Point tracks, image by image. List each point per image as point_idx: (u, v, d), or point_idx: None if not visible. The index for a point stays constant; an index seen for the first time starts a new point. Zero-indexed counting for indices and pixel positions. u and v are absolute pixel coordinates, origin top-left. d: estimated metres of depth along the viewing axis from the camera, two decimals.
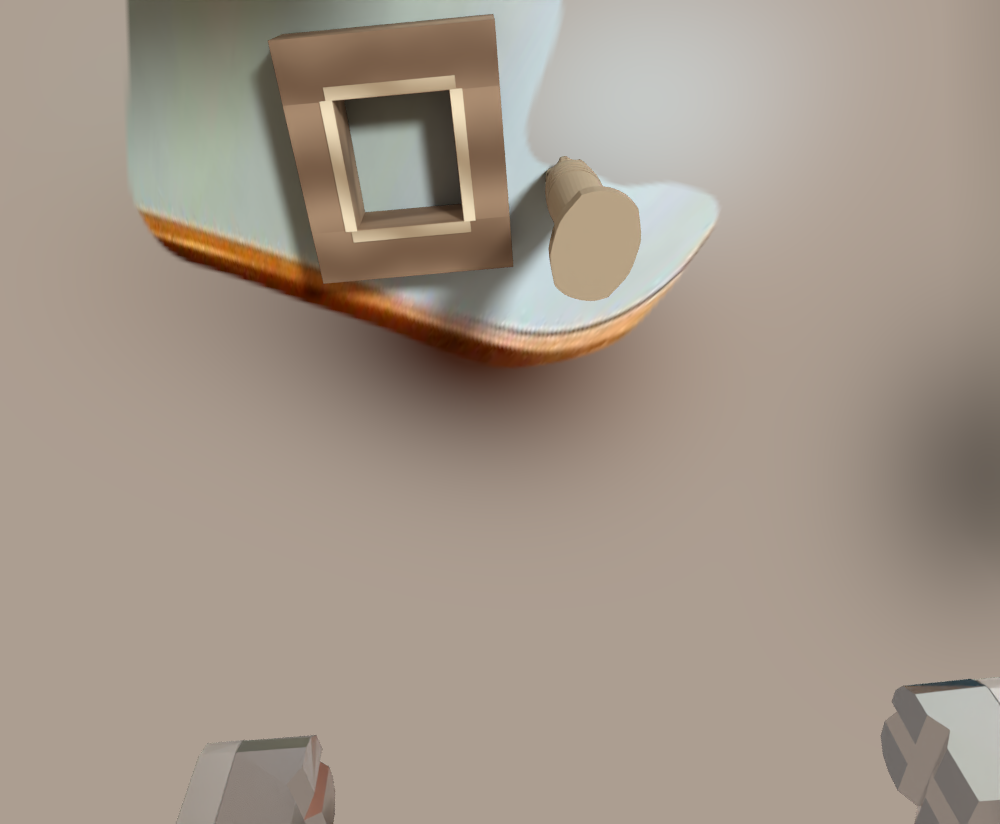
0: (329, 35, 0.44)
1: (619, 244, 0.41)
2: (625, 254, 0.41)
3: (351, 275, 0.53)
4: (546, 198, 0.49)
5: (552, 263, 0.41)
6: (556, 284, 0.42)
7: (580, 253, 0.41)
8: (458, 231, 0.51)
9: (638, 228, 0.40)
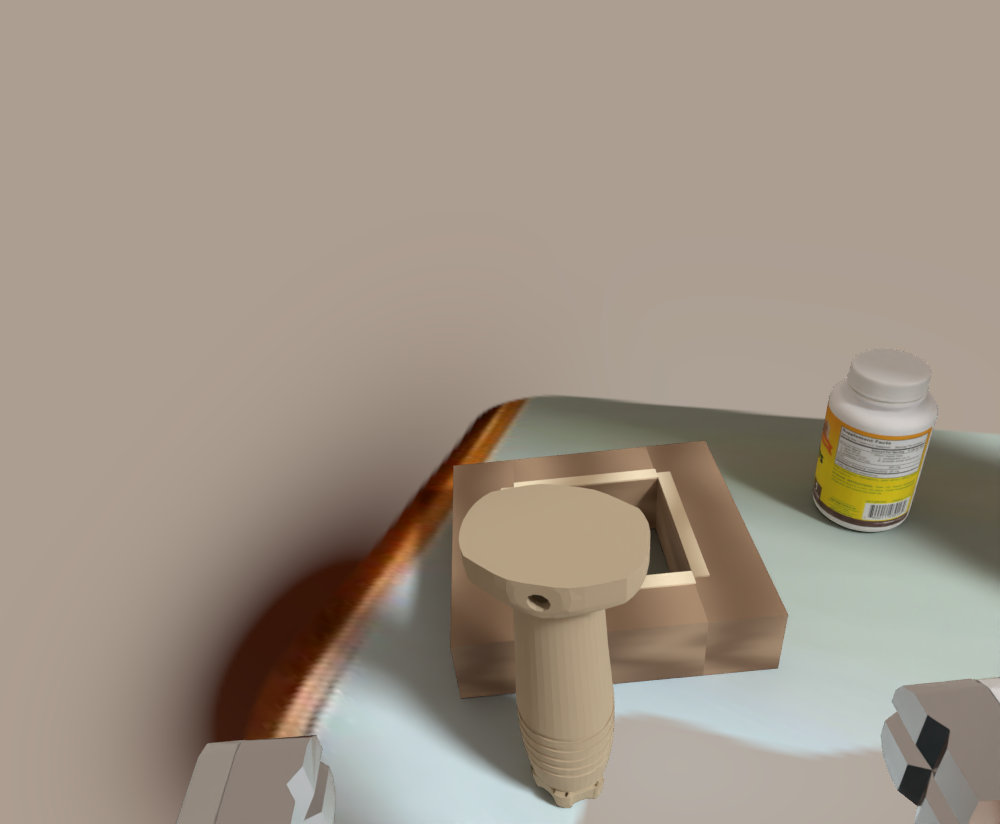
0: None
1: (560, 560, 0.23)
2: (541, 570, 0.23)
3: (460, 486, 0.44)
4: None
5: (527, 487, 0.26)
6: (492, 493, 0.26)
7: (543, 515, 0.25)
8: None
9: (591, 582, 0.22)
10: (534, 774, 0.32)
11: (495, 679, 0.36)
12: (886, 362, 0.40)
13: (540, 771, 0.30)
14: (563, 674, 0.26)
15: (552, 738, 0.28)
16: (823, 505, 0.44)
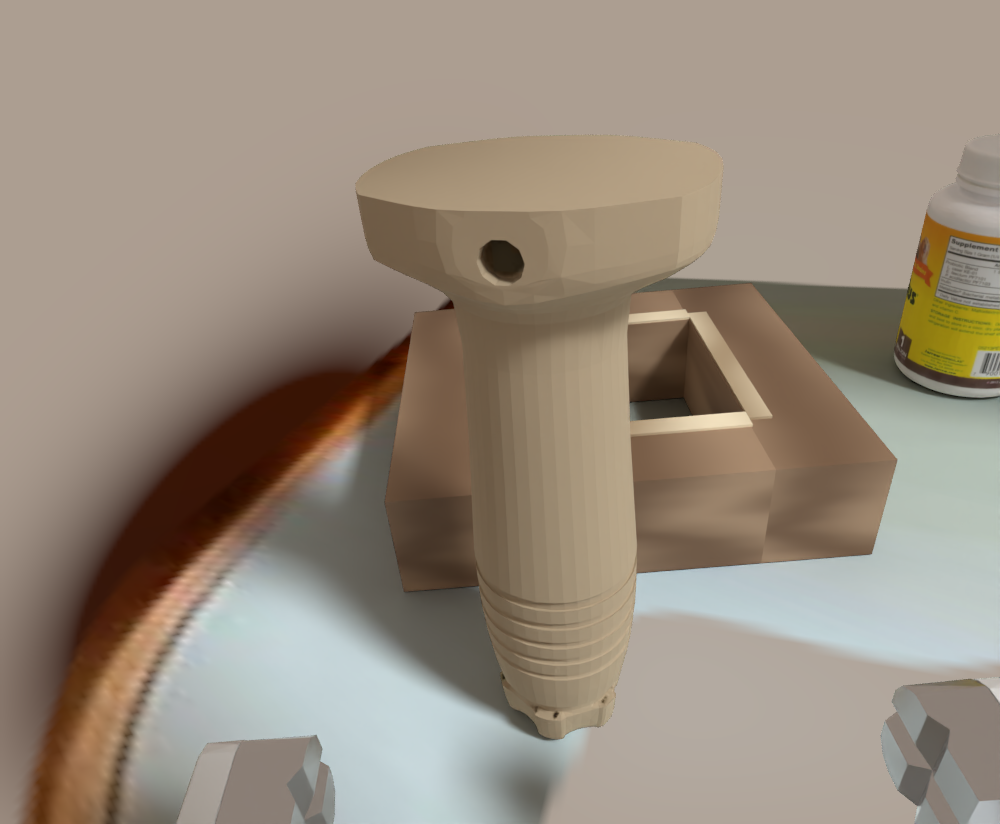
0: None
1: (546, 187, 0.12)
2: (508, 198, 0.11)
3: (421, 331, 0.33)
4: None
5: (493, 139, 0.15)
6: (429, 148, 0.15)
7: (517, 158, 0.14)
8: None
9: (607, 204, 0.11)
10: (505, 686, 0.20)
11: (454, 561, 0.24)
12: None
13: (513, 673, 0.18)
14: (551, 466, 0.14)
15: (531, 602, 0.16)
16: (913, 365, 0.32)
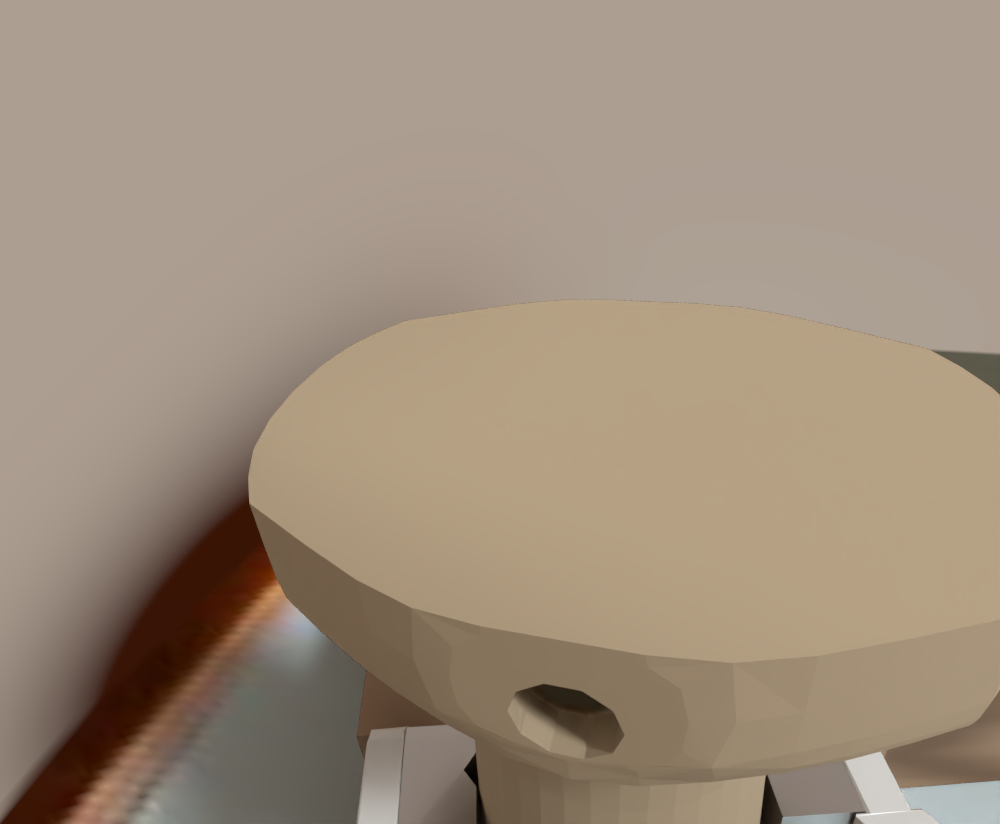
0: None
1: (665, 522, 0.05)
2: (583, 568, 0.05)
3: None
4: None
5: (522, 307, 0.08)
6: (409, 324, 0.08)
7: (576, 373, 0.07)
8: None
9: (846, 633, 0.04)
10: None
11: None
12: None
13: None
14: None
15: None
16: None
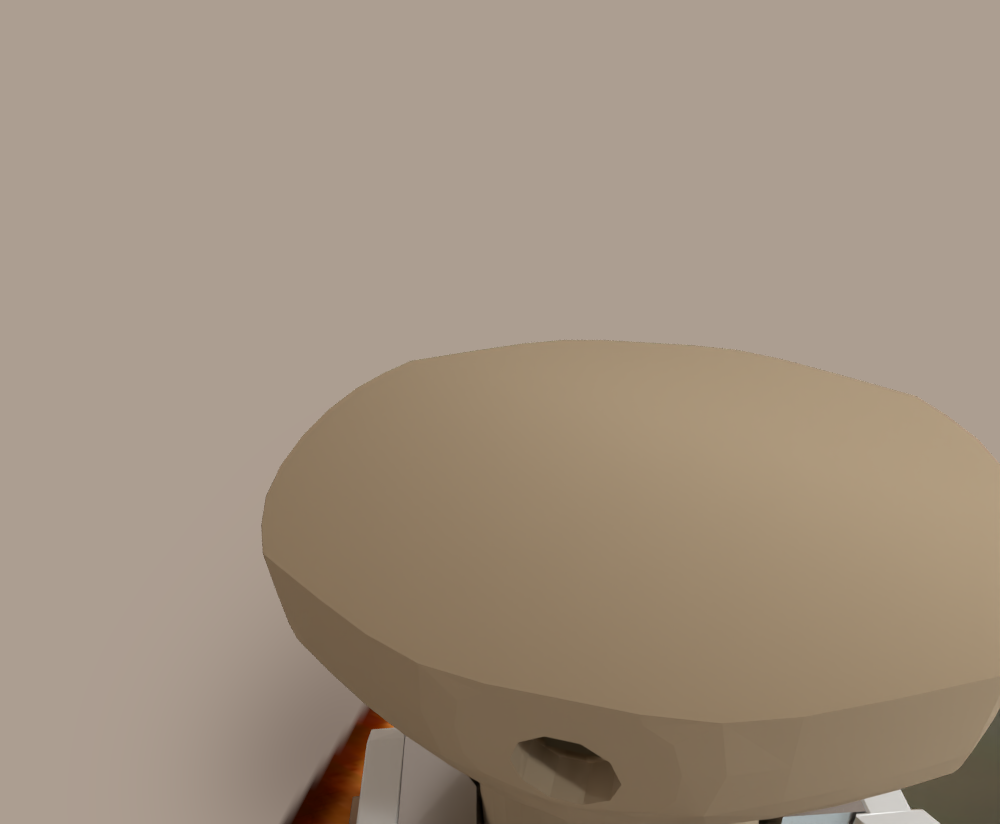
0: None
1: (661, 577, 0.05)
2: (581, 625, 0.05)
3: None
4: None
5: (525, 347, 0.09)
6: (415, 365, 0.08)
7: (575, 419, 0.07)
8: None
9: (831, 694, 0.04)
10: None
11: None
12: None
13: None
14: None
15: None
16: None
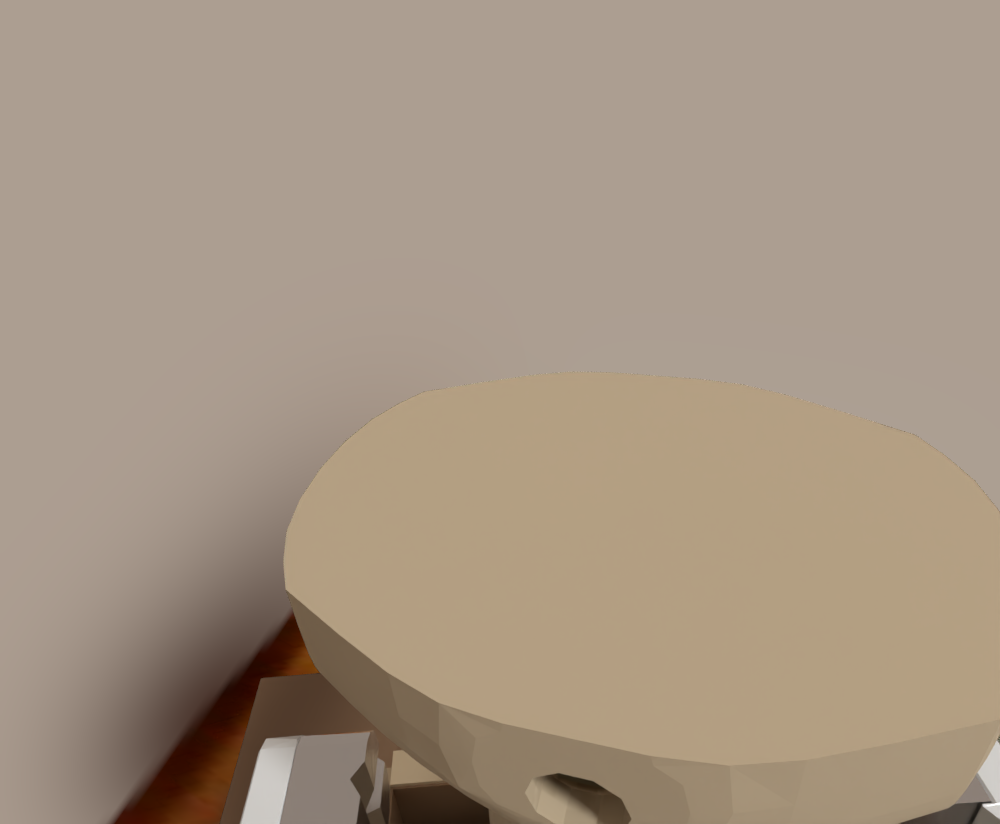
0: None
1: (669, 618, 0.06)
2: (593, 664, 0.05)
3: None
4: None
5: (534, 379, 0.09)
6: (427, 396, 0.09)
7: (586, 455, 0.07)
8: None
9: (832, 737, 0.05)
10: None
11: None
12: None
13: None
14: None
15: None
16: None
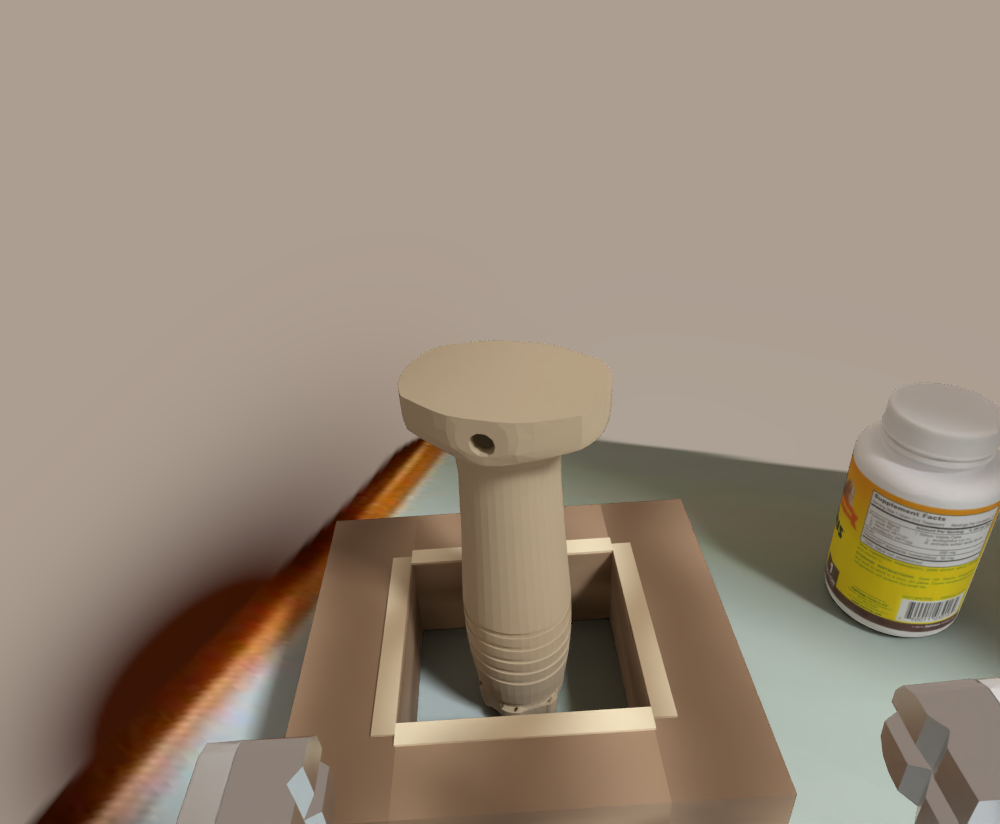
0: None
1: (509, 400, 0.20)
2: (487, 408, 0.20)
3: (339, 552, 0.32)
4: None
5: (481, 342, 0.24)
6: (441, 347, 0.24)
7: (494, 365, 0.22)
8: (377, 713, 0.25)
9: (541, 419, 0.20)
10: (482, 689, 0.29)
11: None
12: (939, 402, 0.28)
13: (487, 680, 0.27)
14: (511, 549, 0.23)
15: (499, 633, 0.25)
16: (840, 595, 0.32)
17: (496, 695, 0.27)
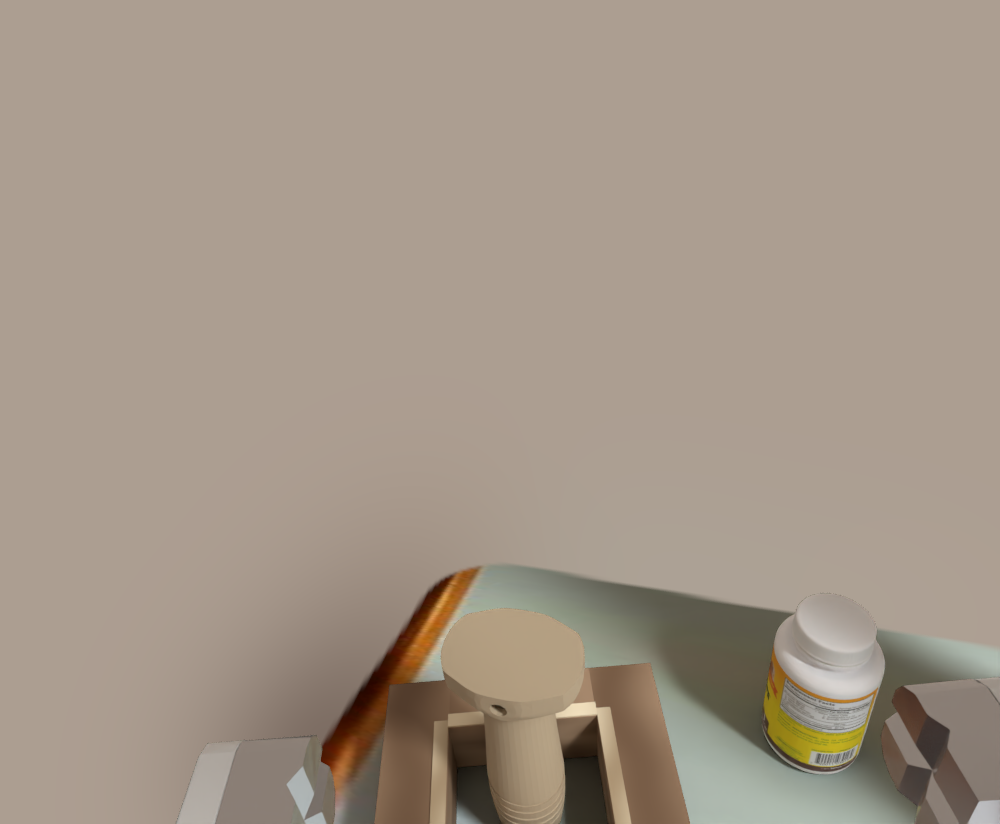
0: (663, 720, 0.41)
1: (515, 677, 0.31)
2: (501, 686, 0.31)
3: (393, 715, 0.42)
4: None
5: (495, 610, 0.34)
6: (468, 615, 0.34)
7: (505, 637, 0.33)
8: None
9: (536, 697, 0.30)
10: None
11: None
12: (831, 615, 0.38)
13: None
14: (520, 757, 0.34)
15: (513, 802, 0.36)
16: (770, 740, 0.42)
17: None
